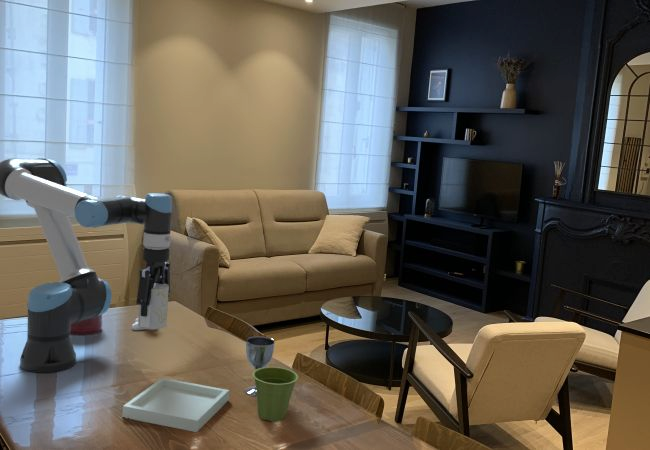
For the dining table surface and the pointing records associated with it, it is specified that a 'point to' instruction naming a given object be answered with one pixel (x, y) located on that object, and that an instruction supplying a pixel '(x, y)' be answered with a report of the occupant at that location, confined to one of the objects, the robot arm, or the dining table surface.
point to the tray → (176, 404)
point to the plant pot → (274, 391)
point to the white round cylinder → (157, 307)
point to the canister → (87, 326)
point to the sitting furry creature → (136, 326)
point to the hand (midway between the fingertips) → (152, 322)
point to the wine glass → (258, 355)
